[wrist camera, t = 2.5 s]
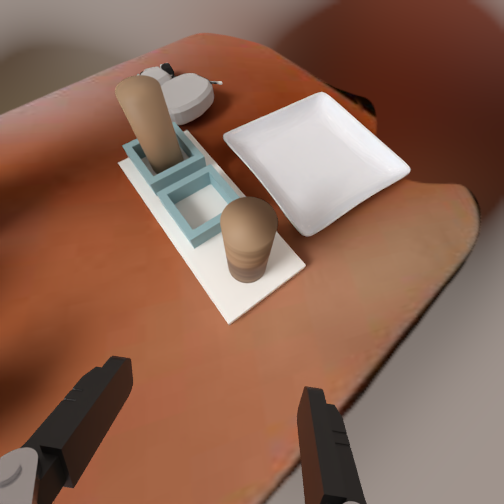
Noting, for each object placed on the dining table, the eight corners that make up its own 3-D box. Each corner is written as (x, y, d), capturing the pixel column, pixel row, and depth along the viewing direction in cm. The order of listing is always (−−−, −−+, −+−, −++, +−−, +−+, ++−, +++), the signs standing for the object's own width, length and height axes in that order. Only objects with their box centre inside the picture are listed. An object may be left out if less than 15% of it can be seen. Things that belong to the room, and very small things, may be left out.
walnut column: (243, 291, 28) (242, 258, 18) (220, 260, 30) (208, 215, 20) (273, 268, 30) (289, 226, 19) (251, 240, 31) (254, 187, 21)
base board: (229, 325, 28) (219, 308, 17) (122, 169, 37) (66, 87, 25) (303, 269, 31) (338, 222, 20) (189, 137, 40) (166, 50, 28)
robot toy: (122, 109, 43) (179, 144, 39) (108, 83, 39) (170, 118, 35) (171, 77, 47) (227, 105, 43) (163, 50, 43) (224, 78, 39)
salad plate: (402, 182, 38) (417, 167, 35) (300, 249, 33) (306, 238, 30) (317, 106, 44) (323, 87, 41) (221, 151, 39) (219, 134, 36)
